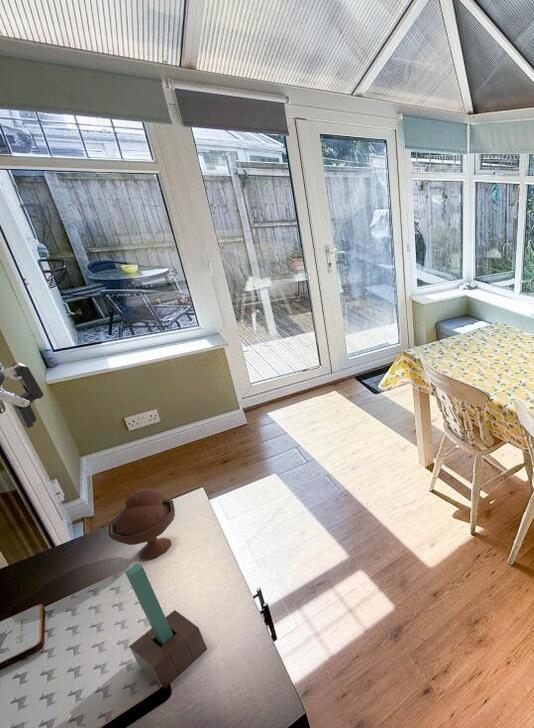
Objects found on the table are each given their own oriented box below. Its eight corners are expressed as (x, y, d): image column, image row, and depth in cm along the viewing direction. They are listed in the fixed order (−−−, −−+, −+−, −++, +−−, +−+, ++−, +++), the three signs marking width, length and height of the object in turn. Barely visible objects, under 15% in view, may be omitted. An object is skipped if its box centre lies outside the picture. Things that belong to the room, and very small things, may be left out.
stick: (172, 665, 70) (130, 575, 61) (167, 660, 70) (124, 571, 62) (183, 656, 71) (143, 567, 62) (177, 651, 72) (137, 562, 63)
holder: (164, 689, 67) (152, 666, 64) (140, 668, 69) (128, 646, 67) (207, 649, 72) (198, 627, 70) (184, 631, 75) (174, 609, 72)
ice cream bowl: (133, 538, 93) (109, 486, 87) (192, 523, 97) (174, 473, 91) (113, 578, 84) (86, 523, 78) (180, 560, 88) (158, 507, 82)
